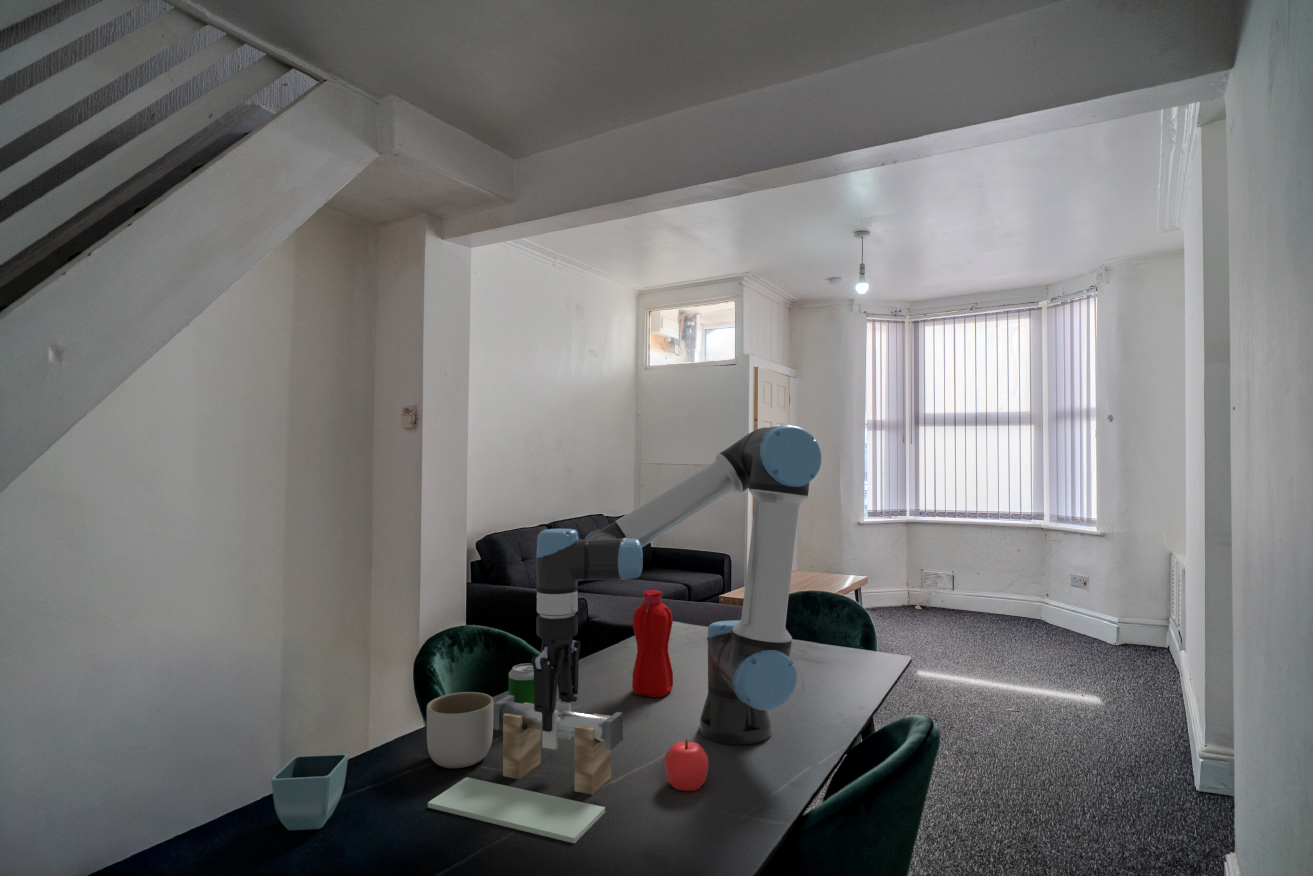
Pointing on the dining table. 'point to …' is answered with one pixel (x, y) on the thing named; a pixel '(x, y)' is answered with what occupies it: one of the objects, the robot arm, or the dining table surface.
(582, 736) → the post near
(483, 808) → the board
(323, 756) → the flower pot
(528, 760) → the post far
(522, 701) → the soda can
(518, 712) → the rail
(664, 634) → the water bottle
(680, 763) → the apple
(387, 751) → the dining table surface
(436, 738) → the planter
